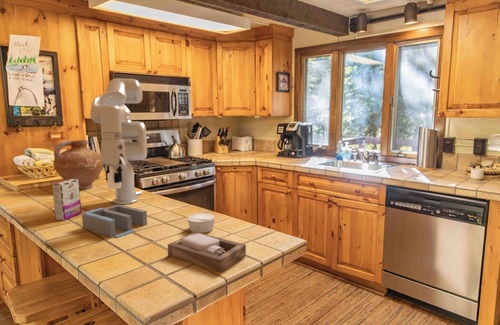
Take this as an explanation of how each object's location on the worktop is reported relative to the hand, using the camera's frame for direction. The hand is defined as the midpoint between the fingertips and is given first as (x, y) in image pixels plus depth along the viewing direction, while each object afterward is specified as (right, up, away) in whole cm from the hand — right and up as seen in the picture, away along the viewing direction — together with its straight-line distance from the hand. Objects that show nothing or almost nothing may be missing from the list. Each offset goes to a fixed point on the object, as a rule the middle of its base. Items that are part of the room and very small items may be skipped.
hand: (114, 181), depth 136 cm
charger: (+41, -23, -24) cm, 53 cm away
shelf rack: (0, -19, +3) cm, 20 cm away
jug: (-50, -8, +73) cm, 89 cm away
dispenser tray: (+41, -24, -23) cm, 53 cm away
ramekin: (+35, -20, +2) cm, 41 cm away
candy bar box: (-27, -17, +16) cm, 36 cm away
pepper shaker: (0, -3, +1) cm, 3 cm away
